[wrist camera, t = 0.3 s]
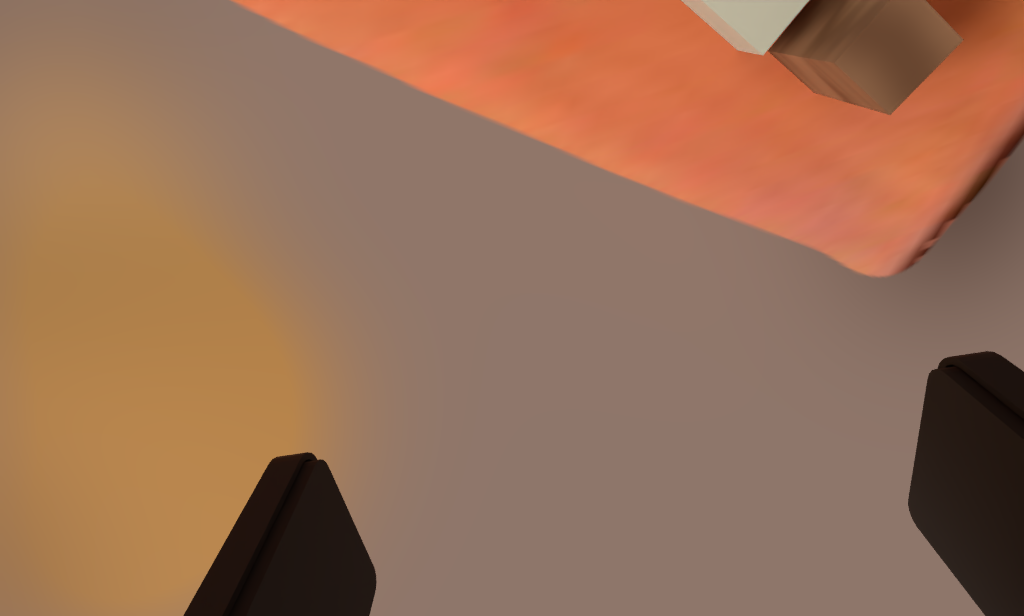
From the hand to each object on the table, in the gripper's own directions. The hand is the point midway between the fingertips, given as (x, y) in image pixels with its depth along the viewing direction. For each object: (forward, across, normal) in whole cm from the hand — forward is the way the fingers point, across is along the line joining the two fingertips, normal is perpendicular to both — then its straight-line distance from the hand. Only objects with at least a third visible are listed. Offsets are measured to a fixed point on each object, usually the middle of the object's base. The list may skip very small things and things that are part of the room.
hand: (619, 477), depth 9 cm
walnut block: (+30, -16, -2) cm, 34 cm away
